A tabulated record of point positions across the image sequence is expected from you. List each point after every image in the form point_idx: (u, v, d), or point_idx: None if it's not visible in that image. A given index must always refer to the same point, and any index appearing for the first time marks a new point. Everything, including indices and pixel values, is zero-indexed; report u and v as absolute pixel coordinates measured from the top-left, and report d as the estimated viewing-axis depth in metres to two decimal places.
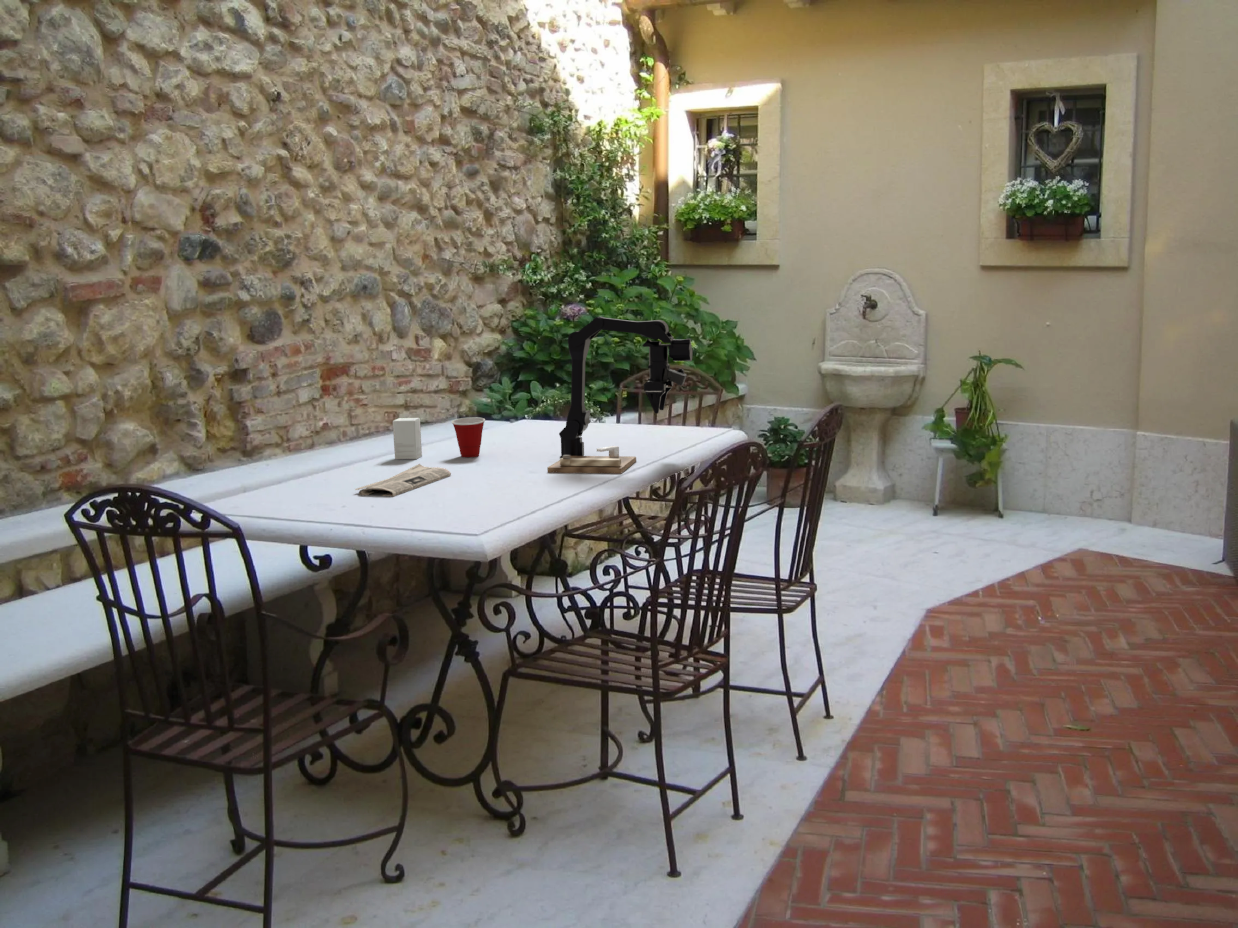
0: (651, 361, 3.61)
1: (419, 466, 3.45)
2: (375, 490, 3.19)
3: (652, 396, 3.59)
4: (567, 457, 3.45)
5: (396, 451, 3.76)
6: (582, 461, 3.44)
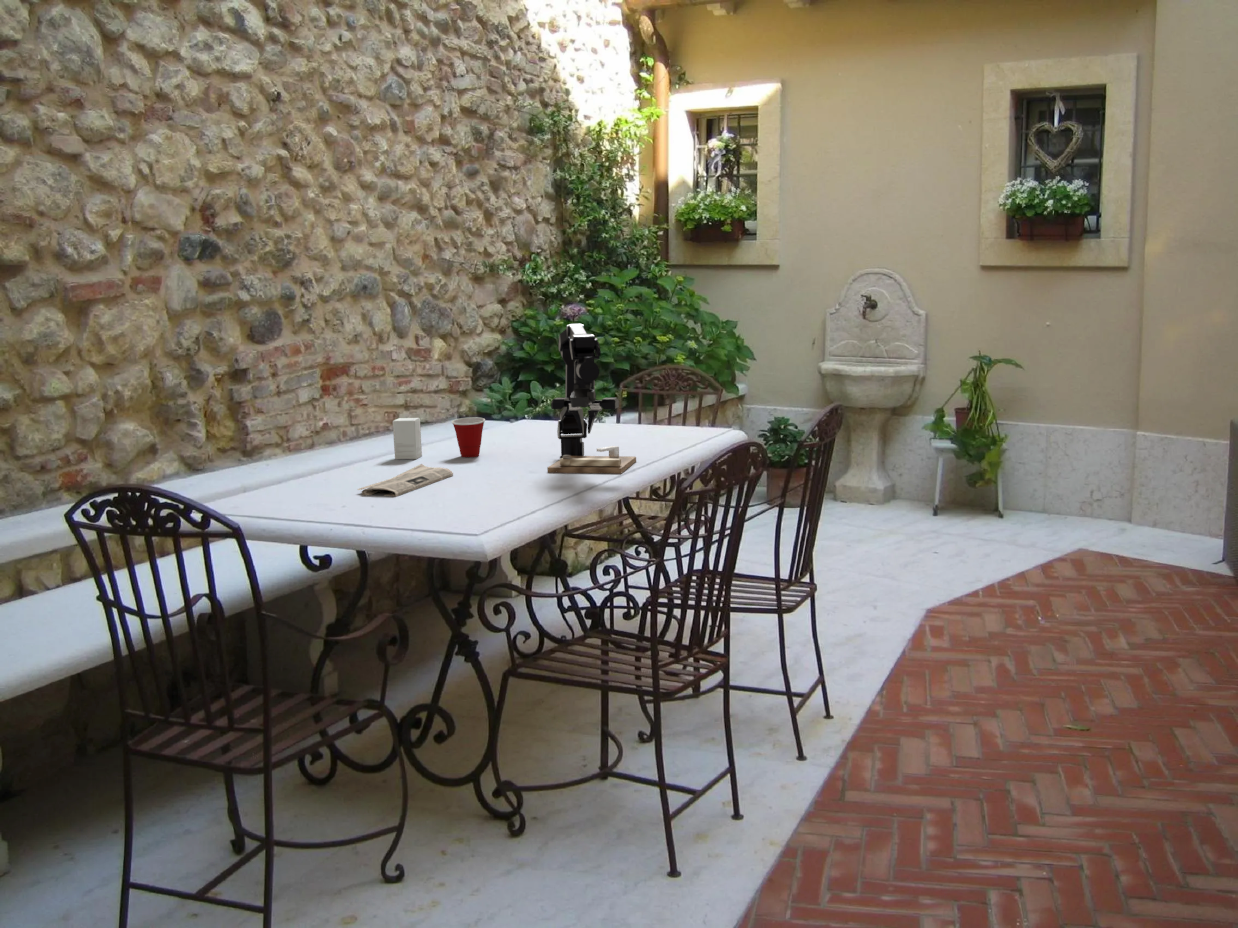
0: None
1: (421, 466, 3.45)
2: (377, 490, 3.19)
3: None
4: (567, 457, 3.45)
5: (396, 451, 3.76)
6: (582, 461, 3.44)
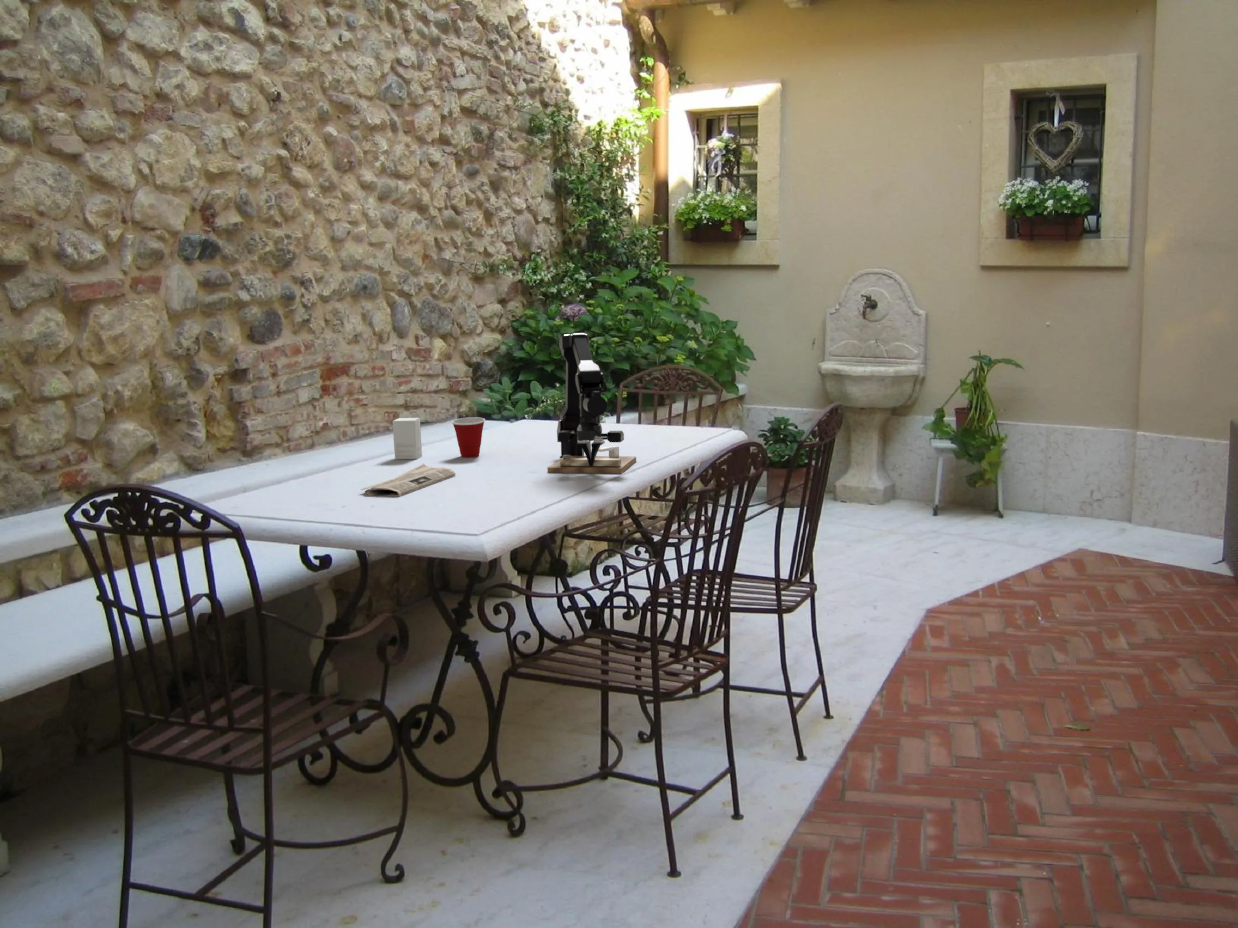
0: None
1: (423, 466, 3.45)
2: (380, 490, 3.19)
3: None
4: (567, 457, 3.45)
5: (396, 451, 3.76)
6: (582, 461, 3.44)
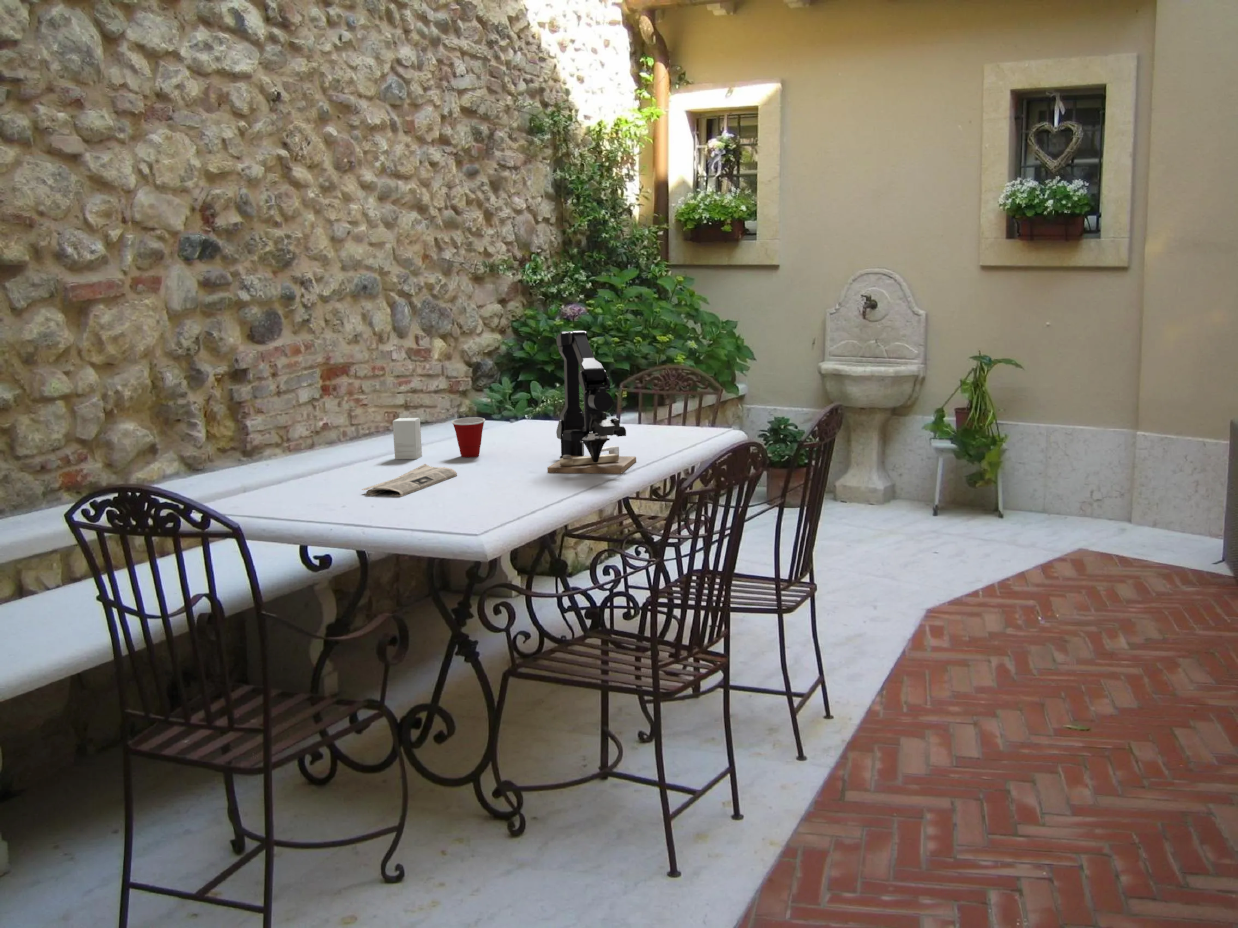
0: None
1: (425, 466, 3.45)
2: (382, 490, 3.19)
3: (588, 444, 3.47)
4: (569, 457, 3.46)
5: (396, 451, 3.76)
6: (584, 459, 3.47)
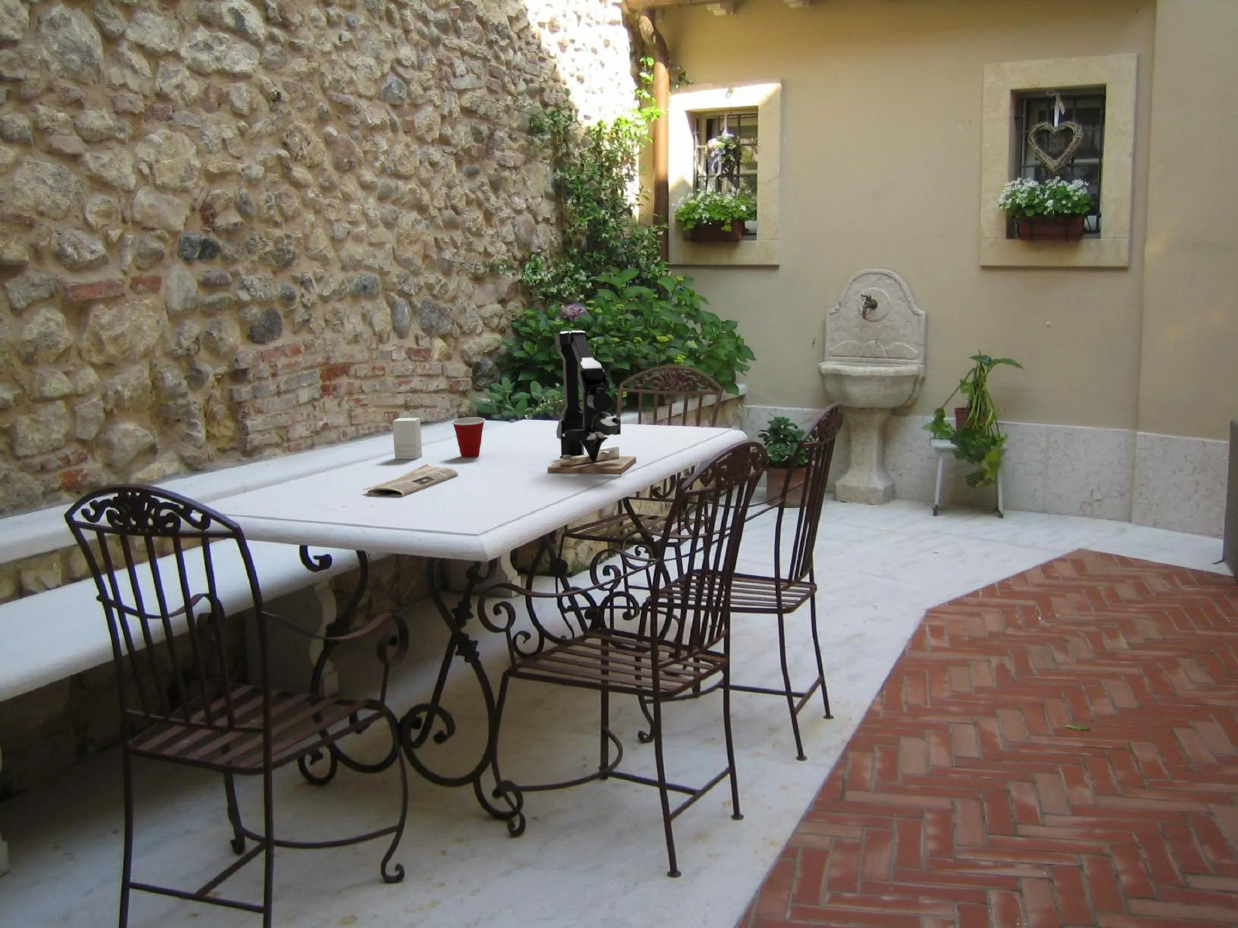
0: (583, 408, 3.48)
1: (426, 466, 3.45)
2: (383, 490, 3.19)
3: (587, 443, 3.49)
4: (570, 457, 3.46)
5: (396, 451, 3.76)
6: (582, 458, 3.49)
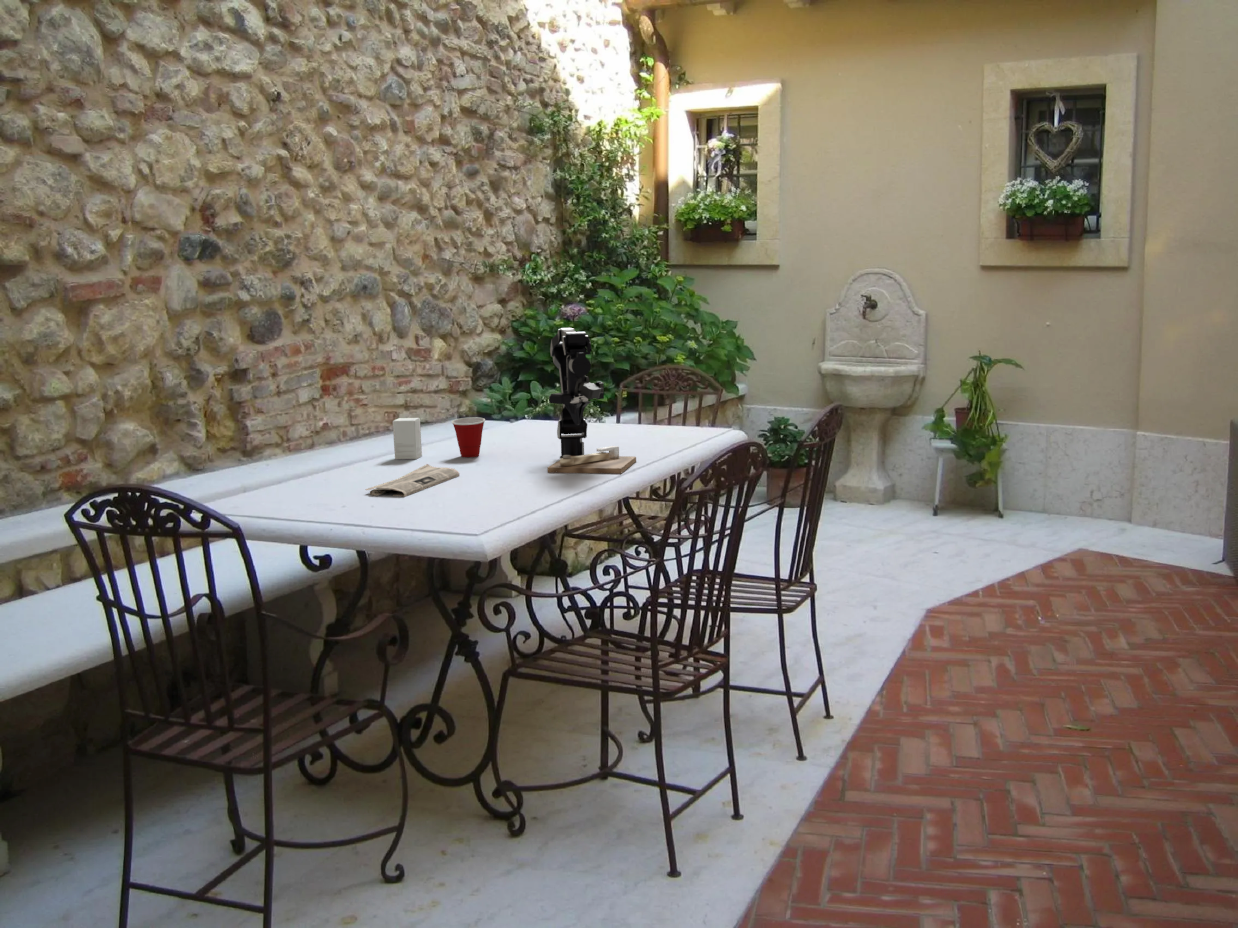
0: (566, 373, 3.56)
1: (427, 466, 3.45)
2: (385, 490, 3.18)
3: (571, 407, 3.57)
4: (570, 457, 3.46)
5: (396, 451, 3.76)
6: (582, 458, 3.49)
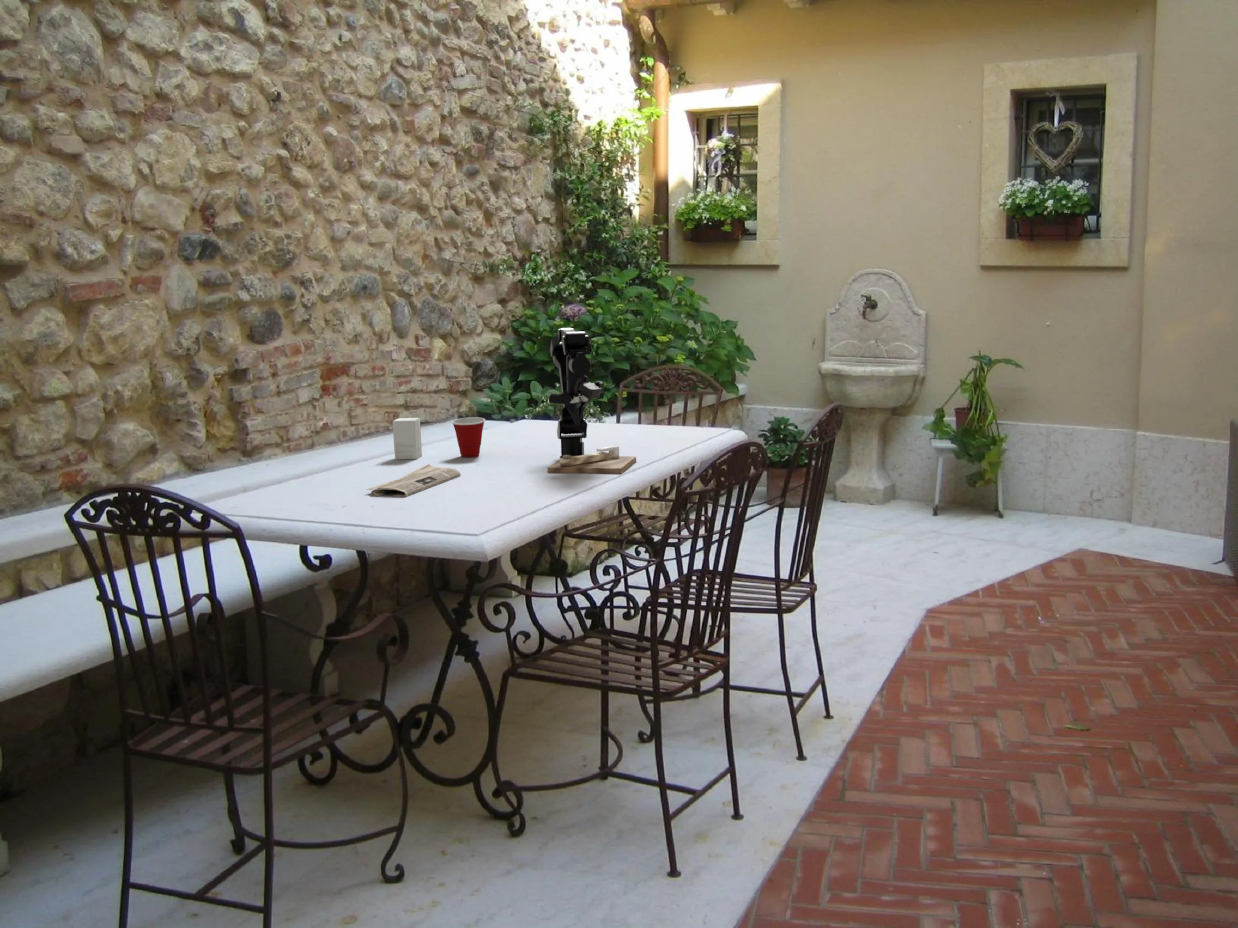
0: (566, 373, 3.56)
1: (428, 466, 3.44)
2: (387, 490, 3.18)
3: (571, 407, 3.57)
4: (570, 457, 3.46)
5: (396, 451, 3.76)
6: (582, 458, 3.49)
